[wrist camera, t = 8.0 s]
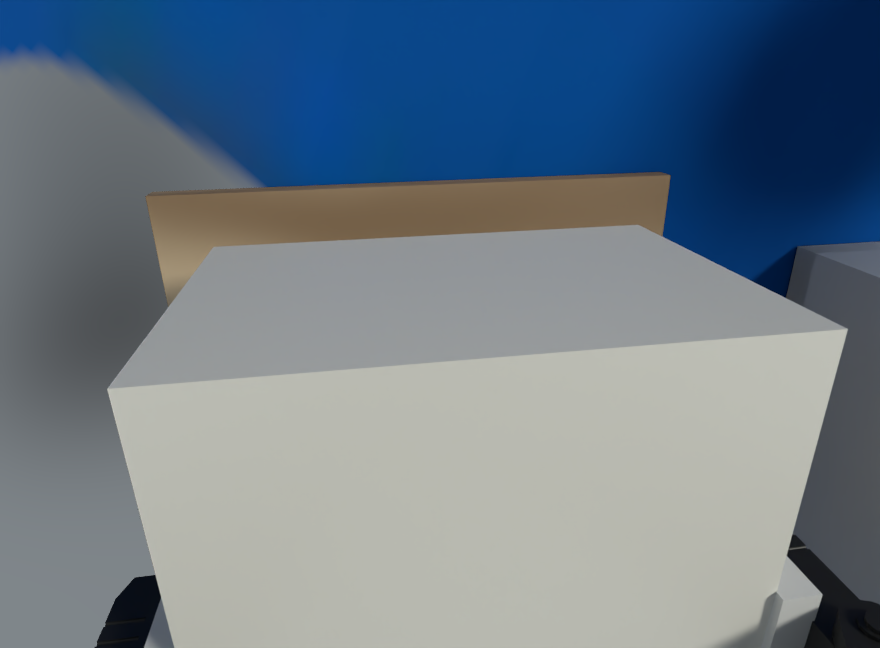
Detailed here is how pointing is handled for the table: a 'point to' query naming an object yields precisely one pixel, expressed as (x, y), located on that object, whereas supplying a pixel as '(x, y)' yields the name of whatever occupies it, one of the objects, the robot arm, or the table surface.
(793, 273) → the dough box
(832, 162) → the table surface
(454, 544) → the lid
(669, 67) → the table surface
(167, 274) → the trivet
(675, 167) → the table surface
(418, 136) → the table surface
